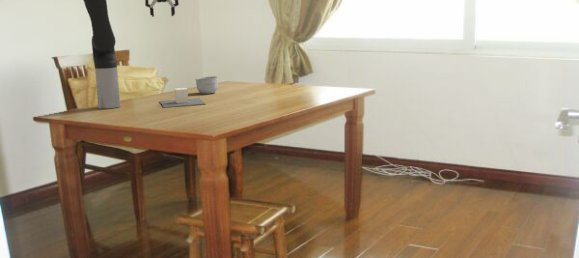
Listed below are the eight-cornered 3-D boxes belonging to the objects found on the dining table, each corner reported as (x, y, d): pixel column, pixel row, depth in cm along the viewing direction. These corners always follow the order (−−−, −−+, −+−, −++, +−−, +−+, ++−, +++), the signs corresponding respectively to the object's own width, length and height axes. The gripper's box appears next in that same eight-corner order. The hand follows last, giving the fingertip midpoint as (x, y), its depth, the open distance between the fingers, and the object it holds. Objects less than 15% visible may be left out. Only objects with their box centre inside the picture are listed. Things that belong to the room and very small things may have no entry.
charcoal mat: (163, 107, 256) (163, 106, 256) (159, 101, 273) (159, 101, 273) (205, 104, 261) (205, 103, 261) (199, 99, 278) (199, 98, 278)
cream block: (176, 103, 264) (175, 89, 263) (175, 101, 269) (174, 88, 267) (188, 102, 265) (187, 89, 264) (186, 101, 270) (185, 87, 269)
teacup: (207, 95, 290) (206, 78, 288) (191, 94, 296) (190, 77, 294) (227, 91, 300) (226, 75, 299) (211, 90, 307) (210, 74, 305)
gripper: (144, -22, 257) (146, 17, 260) (177, -23, 261) (180, 15, 264) (142, -21, 264) (145, 16, 267) (175, -22, 268) (178, 15, 271)
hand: (162, 16), depth 266 cm, fingers open, 8 cm apart
